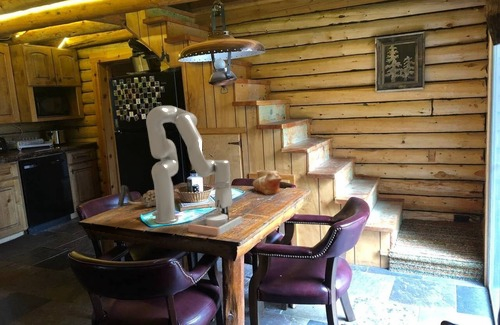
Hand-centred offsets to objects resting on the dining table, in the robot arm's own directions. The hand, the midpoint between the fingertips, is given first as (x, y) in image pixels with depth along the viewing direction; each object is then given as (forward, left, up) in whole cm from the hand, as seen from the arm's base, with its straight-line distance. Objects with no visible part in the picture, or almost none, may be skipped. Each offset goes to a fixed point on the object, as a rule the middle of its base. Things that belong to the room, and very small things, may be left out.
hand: (225, 219), depth 203 cm
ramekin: (0, -8, -1) cm, 8 cm away
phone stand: (-79, +8, -2) cm, 79 cm away
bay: (0, -8, -1) cm, 8 cm away
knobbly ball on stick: (-61, +7, -2) cm, 62 cm away
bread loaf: (-11, +69, -2) cm, 70 cm away
